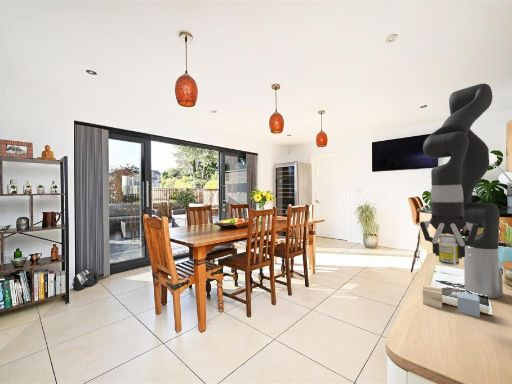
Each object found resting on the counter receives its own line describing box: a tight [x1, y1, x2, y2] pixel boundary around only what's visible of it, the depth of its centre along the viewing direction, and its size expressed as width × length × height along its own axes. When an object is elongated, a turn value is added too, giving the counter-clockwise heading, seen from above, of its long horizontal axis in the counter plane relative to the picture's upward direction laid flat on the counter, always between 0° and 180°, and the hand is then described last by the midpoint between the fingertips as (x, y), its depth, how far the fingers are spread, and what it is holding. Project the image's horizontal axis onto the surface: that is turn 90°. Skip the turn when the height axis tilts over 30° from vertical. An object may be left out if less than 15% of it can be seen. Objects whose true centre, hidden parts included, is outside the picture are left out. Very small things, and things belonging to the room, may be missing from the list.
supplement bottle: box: [438, 234, 460, 267], centre depth 70 cm, size 5×5×8 cm
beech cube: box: [422, 284, 443, 309], centre depth 79 cm, size 5×5×5 cm
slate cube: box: [456, 290, 481, 318], centre depth 73 cm, size 5×5×5 cm
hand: (448, 256), depth 70 cm, fingers closed on supplement bottle, 4 cm apart
